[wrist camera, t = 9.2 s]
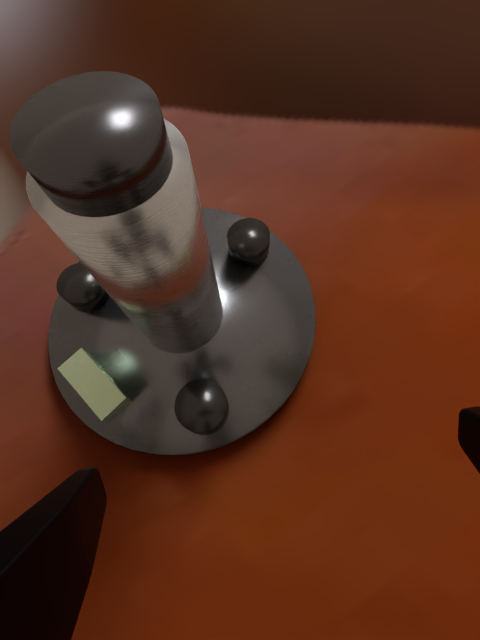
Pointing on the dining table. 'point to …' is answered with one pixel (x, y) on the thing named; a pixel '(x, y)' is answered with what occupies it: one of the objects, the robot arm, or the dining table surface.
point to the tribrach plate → (193, 367)
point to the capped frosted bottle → (123, 201)
